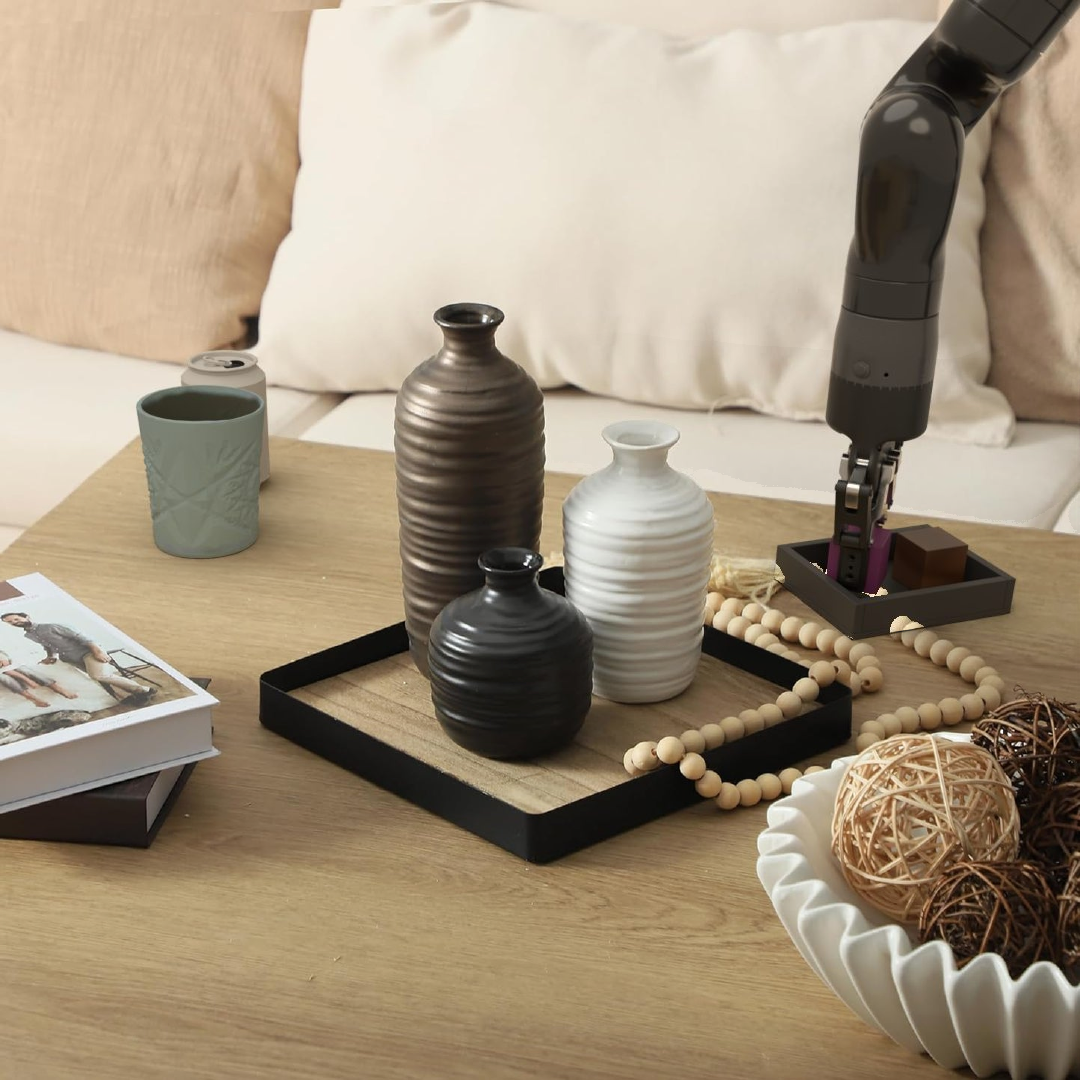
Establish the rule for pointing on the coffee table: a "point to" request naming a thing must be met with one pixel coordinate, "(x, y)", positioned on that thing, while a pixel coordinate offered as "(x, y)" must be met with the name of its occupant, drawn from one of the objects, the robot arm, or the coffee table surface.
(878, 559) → the plum block
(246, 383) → the can
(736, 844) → the coffee table surface
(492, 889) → the coffee table surface
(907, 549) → the walnut block
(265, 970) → the coffee table surface
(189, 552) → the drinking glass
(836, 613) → the tray
